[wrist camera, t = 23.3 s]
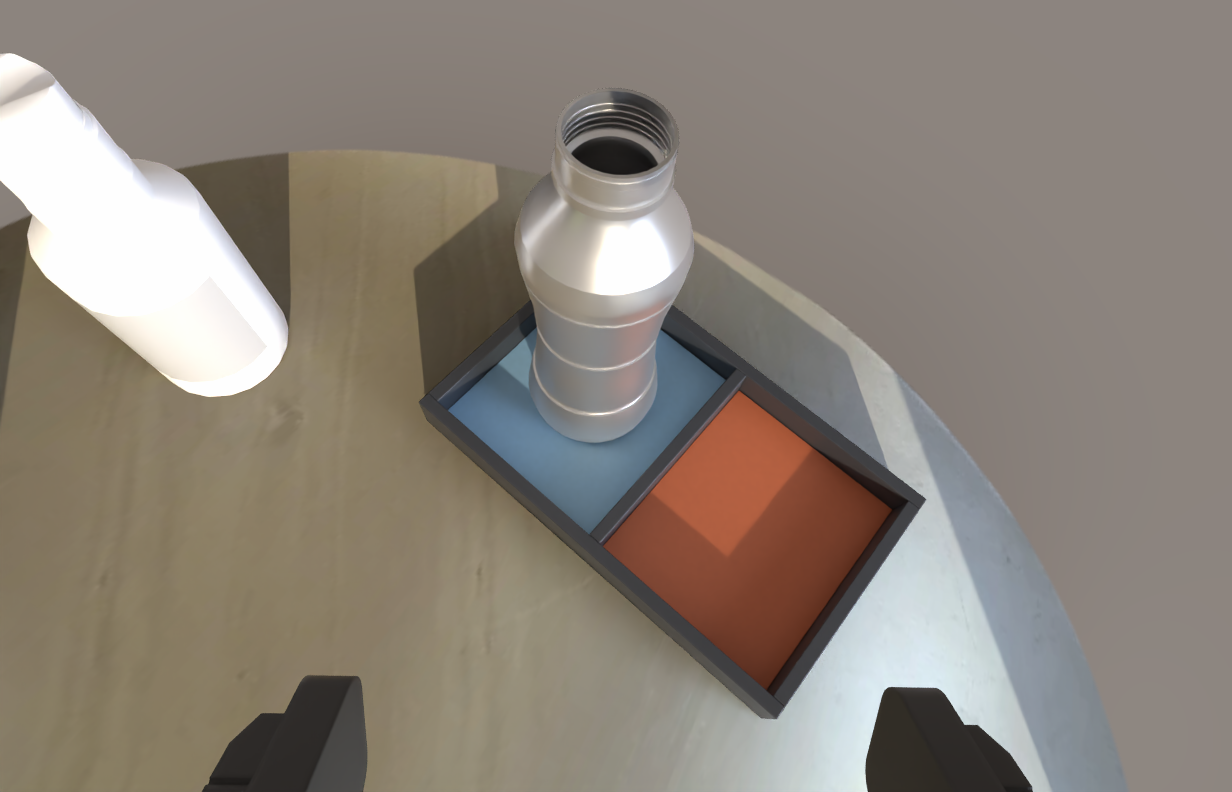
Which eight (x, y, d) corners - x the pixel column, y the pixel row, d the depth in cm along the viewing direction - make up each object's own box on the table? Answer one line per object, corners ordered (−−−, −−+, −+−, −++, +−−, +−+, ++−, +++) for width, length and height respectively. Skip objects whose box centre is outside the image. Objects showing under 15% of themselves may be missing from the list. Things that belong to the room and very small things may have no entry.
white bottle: (136, 349, 39) (-169, 93, 23) (235, 271, 42) (25, -12, 25) (218, 423, 38) (-42, 208, 21) (316, 338, 40) (151, 85, 24)
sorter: (904, 511, 39) (926, 499, 36) (761, 718, 34) (776, 719, 32) (590, 268, 44) (592, 243, 41) (426, 420, 39) (418, 401, 36)
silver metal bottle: (648, 459, 38) (732, 232, 20) (522, 448, 38) (489, 208, 20) (653, 353, 41) (731, 65, 22) (535, 342, 40) (517, 42, 22)
